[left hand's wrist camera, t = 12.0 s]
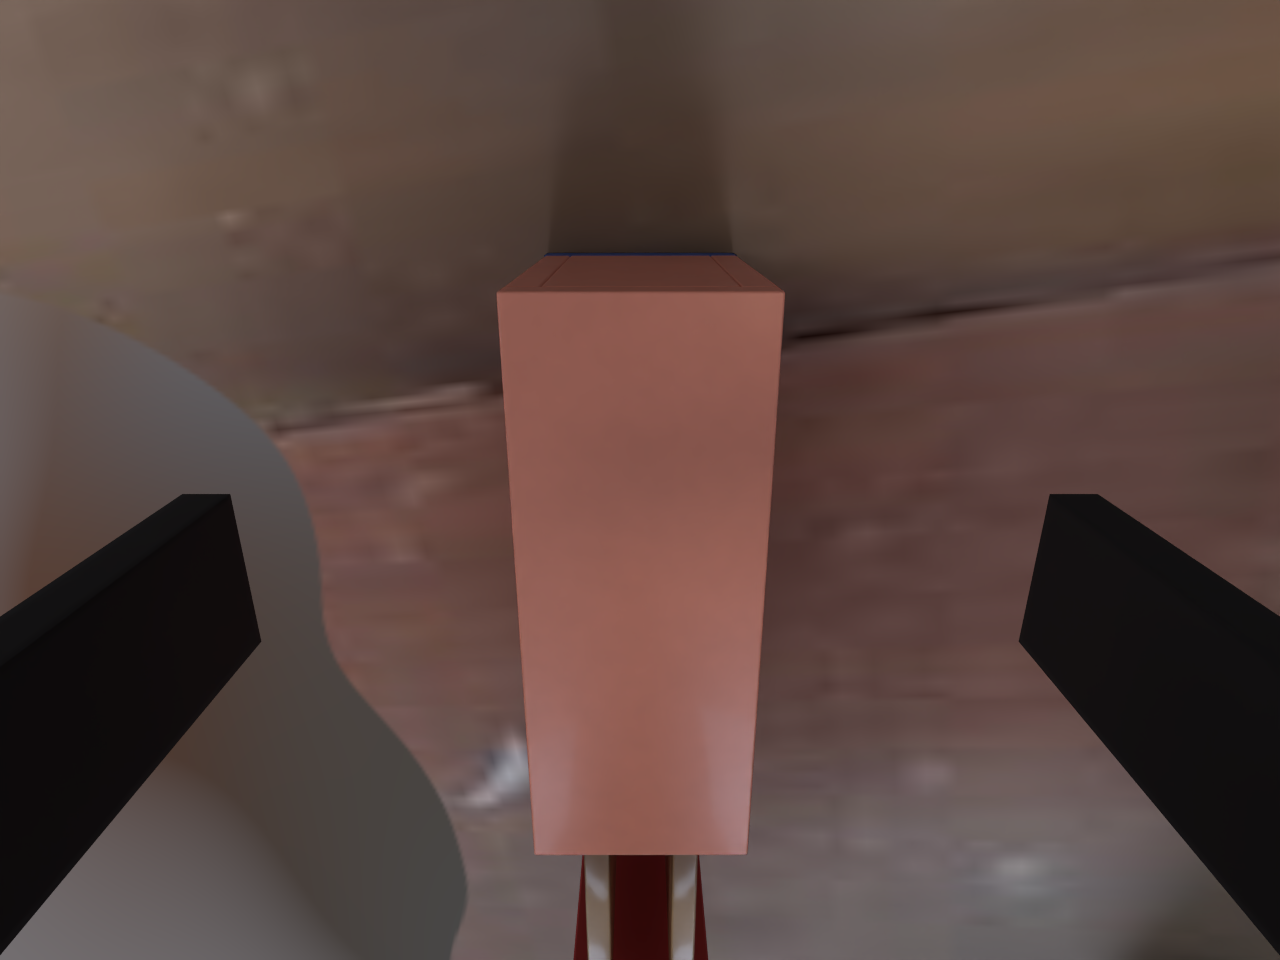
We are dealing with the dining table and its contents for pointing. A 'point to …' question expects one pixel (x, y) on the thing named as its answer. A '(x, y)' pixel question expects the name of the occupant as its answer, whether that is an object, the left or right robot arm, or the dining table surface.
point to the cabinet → (640, 541)
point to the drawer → (640, 908)
